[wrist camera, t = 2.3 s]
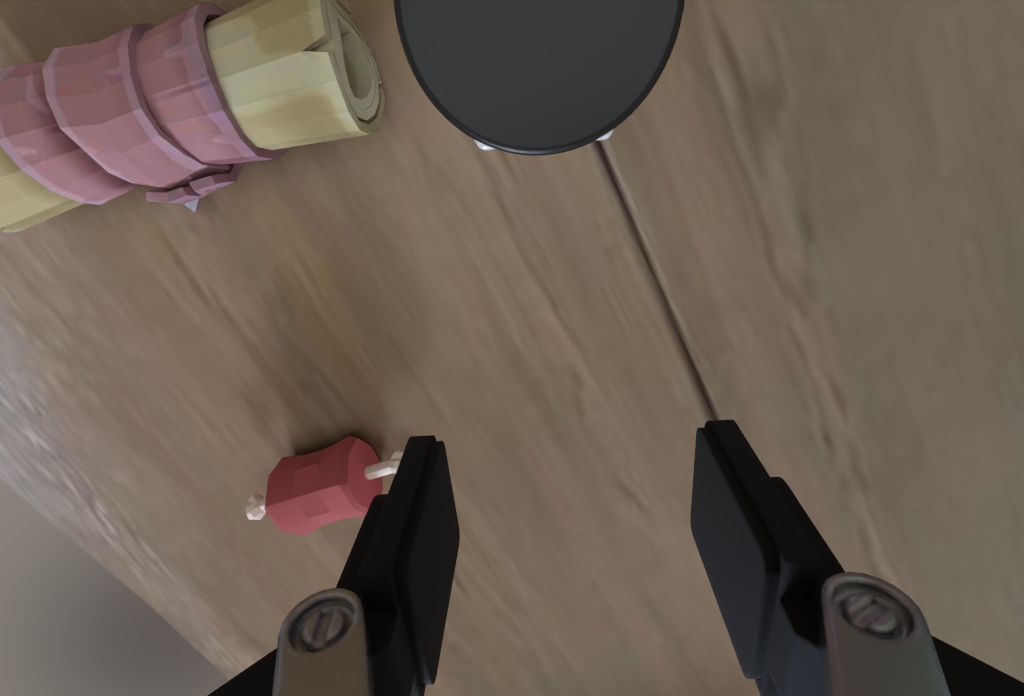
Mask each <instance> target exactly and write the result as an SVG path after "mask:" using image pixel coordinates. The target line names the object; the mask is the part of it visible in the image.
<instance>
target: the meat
mask: <svg viewBox="0 0 1024 696" xmlns="http://www.w3.org/2000/svg"><path fill="white" fill-rule="evenodd" d="M403 453H404V451H402V450H396V451H395V452H394V453H393V455H392V456H391V458H390V460H387V461H384V462H380V461H379V459H378V457H377V455H376V453H375V452H374V450H373V448H372V446H371V445H369V444H367V443H365V442H364V441H362V440H360V439H358V438H355V437H352V436H348V437H347V438H345V439H343V440H341V441H340V442H338V443H336V444H334V445H332V446H330V447H328V448H325V449H322V450H319V451H316V452H313V453H310V454H306V455H300V456H291V457H283V458H282V459H281V460H280V462H279V463H278V464H277V466H276V467H275V468H274V470H273V471H272V473H271V474H270V475H269V479H268V485H267V493H266V498H264V497H263V496H261V495H258V494H255V495H254V496H252V497H251V498H249V502H250V504H249V505H247V507H246V513H247V516H248V519H250V520H260V519H262V517H263V516H264V514H265V513H267V514H268V515H269V517H270V518H271V520H272V521H273V523H274V524H275V526H276V527H277V528H278V530H283V531H287V532H291V533H295V534H299V535H303V536H304V535H305V534H307V533H309V532H311V531H313V530H315V529H317V528H319V527H321V526H323V525H325V524H329V523H332V522H336V521H339V520H343V519H346V518H354V517H365V516H366V513H367V511H368V509H369V506H370V504H371V501H372V500H373V498H374V497H375V496H376V495H381V493H382V490H383V489H382V476H385V475H388V474H391V473H394V474H396V471H397V469H398V466H399V463H400V461H401V458H402V455H403Z"/></svg>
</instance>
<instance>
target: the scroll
mask: <svg viewBox="0 0 1024 696" xmlns="http://www.w3.org/2000/svg"><path fill="white" fill-rule="evenodd" d="M348 14H351V10H350V7H349V4H348V3H347V2H346V1H345V0H254V1H252V2H250V3H248V4H246V5H244V6H242V7H240V8H238V9H235V10H233V11H231V12H229V13H227V12H225V11H224V10H223V9H221V8H220V7H218V6H217V5H215V4H212V3H199V4H197V5H195V6H194V7H192V8H190V9H188V10H186V11H184V12H182V13H180V14H178V15H177V16H175V17H173V18H171V19H169V20H167V21H165V22H163V23H162V24H160V25H158V26H156V27H155V26H153V25H152V24H150V23H149V24H139V25H133V26H131V27H128V28H126V29H124V30H122V31H120V32H118V33H115V34H113V35H111V36H109V37H107V38H105V39H102V40H100V41H98V42H95V43H88V44H81V45H74V46H67V47H60V48H54V49H53V51H52V53H51V54H50V56H49V58H48V59H47V61H42V62H35V63H28V64H21V65H15V66H8V67H3V68H2V69H1V70H0V228H1V230H2V231H3V232H19V231H22V230H24V229H26V228H29V227H31V226H33V225H36V224H38V223H40V222H43V221H45V220H47V219H50V218H52V217H54V216H57V215H59V214H61V213H64V212H66V211H68V210H71V209H73V208H75V207H78V206H80V205H82V204H85V203H86V204H95V205H101V204H103V203H105V202H107V201H109V200H112V199H114V198H116V197H118V196H120V195H122V194H124V193H126V192H128V191H130V190H132V189H134V188H136V187H138V186H140V185H149V186H156V187H163V188H161V189H155V190H151V191H147V192H146V199H147V201H150V202H165V203H180V204H182V205H184V206H185V207H187V208H188V209H190V210H191V211H193V212H194V213H195V210H196V207H197V203H198V200H199V199H201V198H203V197H205V196H206V195H208V194H210V193H212V192H214V191H216V190H218V189H220V188H222V187H225V186H227V185H229V184H231V183H234V182H236V180H237V177H238V175H239V172H240V170H241V167H242V166H241V163H244V162H254V161H264V160H274V159H276V158H278V157H279V156H281V155H283V154H284V153H286V152H287V151H288V149H289V148H290V147H294V146H301V145H307V144H314V143H320V142H326V141H333V140H339V139H346V138H352V137H358V136H365V135H371V134H372V133H373V132H375V131H376V130H377V129H378V128H379V127H380V124H381V120H382V116H383V112H384V103H385V93H384V91H383V89H378V84H380V83H381V79H380V76H379V73H378V69H377V66H376V62H375V60H374V58H373V56H372V53H371V51H370V49H369V47H368V44H367V42H366V40H365V38H364V36H363V34H362V33H361V31H360V30H359V29H358V27H357V26H356V24H355V23H354V21H353V20H352V18H351V17H350V16H349V15H348Z"/></svg>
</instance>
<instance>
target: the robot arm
mask: <svg viewBox="0 0 1024 696" xmlns="http://www.w3.org/2000/svg"><path fill="white" fill-rule="evenodd" d="M691 529H692V534H693V537H694V540H695V542H696V545H697V548H698V551H699V553H700V556H701V559H702V562H703V564H704V567H705V570H706V573H707V575H708V578H709V581H710V584H711V586H712V589H713V592H714V595H715V597H716V600H717V603H718V606H719V608H720V611H721V614H722V616H723V619H724V622H725V625H726V627H727V630H728V633H729V636H730V638H731V641H732V644H733V647H734V649H735V652H736V655H737V658H738V660H739V663H740V666H741V669H742V671H743V673H744V675H745V677H746V678H747V679H755V681H756V684H757V686H758V689H759V692H760V694H761V696H1024V683H1023V682H1021V681H1019V680H1017V679H1015V678H1013V677H1011V676H1009V675H1007V674H1005V673H1003V672H1001V671H999V670H997V669H995V668H993V667H992V666H990V665H988V664H986V663H984V662H982V661H980V660H978V659H976V658H974V657H972V656H970V655H968V654H966V653H964V652H962V651H961V650H959V649H957V648H955V647H953V646H951V645H949V644H947V643H945V642H943V641H941V640H939V639H937V638H935V637H933V636H931V634H930V631H929V628H928V625H927V622H926V619H925V618H924V616H923V614H922V612H921V610H920V608H919V607H918V606H917V605H916V604H915V603H914V601H913V600H912V599H911V598H910V597H909V596H908V595H906V594H905V593H904V592H902V591H901V590H900V589H898V588H897V587H896V586H894V585H892V584H890V583H888V582H886V581H884V580H882V579H880V578H877V577H874V576H870V575H867V574H864V573H854V572H846V573H845V571H844V570H843V568H842V566H841V565H840V563H839V562H838V560H837V559H836V557H835V556H834V554H833V553H832V551H831V550H830V548H829V547H828V545H827V544H826V542H825V541H824V539H823V538H822V536H821V535H820V533H819V532H818V530H817V529H816V527H815V526H814V524H813V523H812V521H811V520H810V518H809V517H808V515H807V514H806V512H805V511H804V509H803V507H802V506H801V504H800V503H799V501H798V500H797V498H796V497H795V495H794V494H793V492H792V491H791V489H790V488H789V486H788V485H787V483H786V482H785V481H784V480H783V479H782V478H780V477H770V476H769V475H768V473H767V472H766V470H765V468H764V467H763V465H762V464H761V462H760V460H759V459H758V457H757V456H756V454H755V452H754V451H753V449H752V448H751V446H750V444H749V443H748V441H747V440H746V438H745V437H744V435H743V433H742V432H741V430H740V429H739V427H738V425H737V424H736V422H735V421H734V420H716V421H707V422H706V424H705V428H698V429H697V434H696V447H695V462H694V476H693V491H692V505H691ZM459 538H460V534H459V525H458V519H457V513H456V507H455V502H454V496H453V490H452V484H451V479H450V473H449V467H448V461H447V456H446V450H445V445H444V442H443V441H436V438H435V436H434V435H432V436H413V437H410V438H409V440H408V442H407V445H406V447H405V450H404V453H403V455H402V458H401V461H400V463H399V466H398V469H397V471H396V474H395V477H394V479H393V482H392V485H391V487H390V490H389V493H388V494H381V495H376V496H375V497H374V498H373V500H372V501H371V504H370V506H369V509H368V511H367V513H366V516H365V518H364V521H363V523H362V526H361V528H360V530H359V533H358V535H357V538H356V540H355V543H354V545H353V548H352V550H351V552H350V555H349V557H348V560H347V562H346V565H345V567H344V569H343V572H342V574H341V577H340V579H339V582H338V584H337V586H336V588H332V589H327V590H322V591H319V592H317V593H315V594H312V595H310V596H309V597H307V598H306V599H304V600H303V601H301V602H300V603H298V604H297V605H296V606H295V607H294V608H293V609H292V610H291V611H290V612H289V614H288V615H287V617H286V618H285V620H284V622H283V623H282V625H281V629H280V632H279V636H278V645H277V648H276V649H275V650H273V651H272V652H270V653H269V654H268V655H266V656H265V657H263V658H262V659H260V660H259V661H257V662H256V663H254V664H253V665H251V666H250V667H249V668H247V669H246V670H244V671H243V672H241V673H240V674H238V675H237V676H235V677H234V678H233V679H231V680H230V681H228V682H227V683H225V684H224V685H222V686H221V687H219V688H218V689H216V690H215V691H214V692H212V693H211V694H209V695H208V696H424V692H425V687H426V684H434V682H435V679H436V675H437V669H438V663H439V657H440V652H441V646H442V640H443V634H444V628H445V623H446V617H447V611H448V605H449V600H450V594H451V588H452V582H453V576H454V571H455V565H456V559H457V553H458V547H459Z"/></svg>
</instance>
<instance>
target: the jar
mask: <svg viewBox="0 0 1024 696" xmlns="http://www.w3.org/2000/svg"><path fill="white" fill-rule="evenodd" d="M684 1H685V0H394V9H395V16H396V22H397V28H398V32H399V36H400V40H401V43H402V46H403V50H404V52H405V55H406V58H407V60H408V63H409V65H410V67H411V69H412V72H413V74H414V75H415V77H416V79H417V81H418V83H419V84H420V86H421V88H422V89H423V91H424V92H425V94H426V95H427V97H428V98H429V100H430V101H431V102H432V103H433V105H434V106H435V107H436V108H437V109H438V110H439V111H440V113H441V114H442V115H443V116H444V117H445V118H446V119H447V120H449V121H450V122H451V123H452V124H453V125H454V126H456V127H457V128H458V129H459V130H461V131H462V132H464V133H465V134H466V135H468V136H470V137H471V138H473V139H474V141H475V142H476V144H477V145H478V147H479V148H481V149H482V150H492V149H498V150H501V151H505V152H509V153H514V154H520V155H534V156H535V155H551V154H557V153H563V152H567V151H570V150H574V149H577V148H579V147H582V146H584V145H587V144H589V143H591V142H593V141H596V140H605V139H608V138H609V137H610V136H611V134H612V132H613V130H614V128H616V127H617V126H618V125H619V124H621V123H622V122H623V121H624V120H625V119H626V118H627V117H629V116H630V115H631V114H632V113H633V112H634V111H635V109H636V108H637V107H638V106H639V105H640V104H641V103H642V101H643V100H644V99H645V98H646V97H647V95H648V94H649V92H650V91H651V90H652V88H653V87H654V85H655V83H656V82H657V80H658V79H659V77H660V75H661V73H662V71H663V70H664V68H665V66H666V63H667V61H668V59H669V57H670V55H671V52H672V49H673V47H674V44H675V41H676V38H677V35H678V31H679V28H680V24H681V19H682V14H683V9H684Z"/></svg>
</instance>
